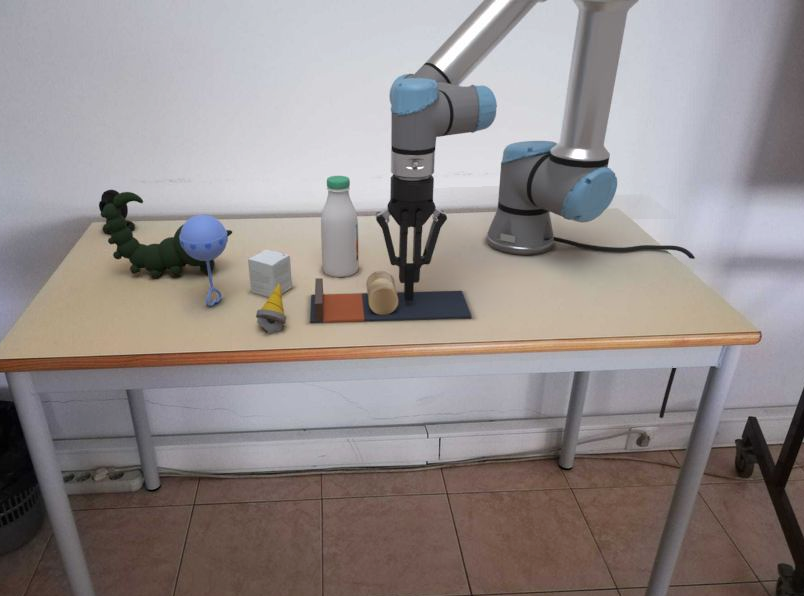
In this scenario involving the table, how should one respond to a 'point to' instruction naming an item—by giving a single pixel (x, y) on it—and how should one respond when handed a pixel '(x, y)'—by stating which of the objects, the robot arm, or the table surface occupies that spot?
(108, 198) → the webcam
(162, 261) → the toy figurine
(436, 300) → the board
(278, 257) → the product box
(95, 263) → the table surface
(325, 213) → the milk bottle
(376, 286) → the roller
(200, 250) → the baby rattle
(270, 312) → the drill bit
